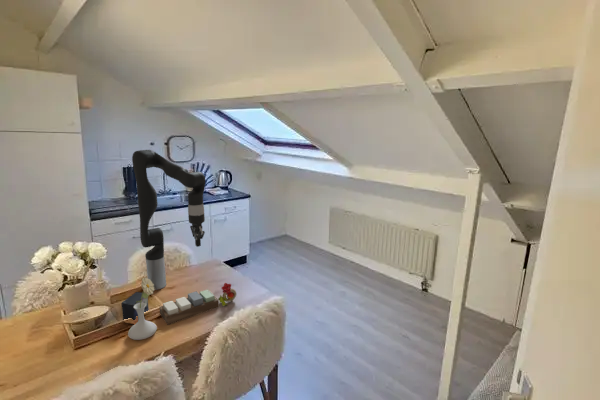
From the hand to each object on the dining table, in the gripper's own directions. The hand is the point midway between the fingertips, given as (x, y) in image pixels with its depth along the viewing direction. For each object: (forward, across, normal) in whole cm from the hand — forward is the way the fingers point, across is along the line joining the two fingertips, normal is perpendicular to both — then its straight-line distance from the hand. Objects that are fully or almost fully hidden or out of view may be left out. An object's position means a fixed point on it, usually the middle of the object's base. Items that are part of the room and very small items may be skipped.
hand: (198, 246), depth 168 cm
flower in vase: (+29, +13, -31) cm, 45 cm away
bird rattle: (+29, +12, +9) cm, 33 cm away
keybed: (+29, +8, -9) cm, 31 cm away
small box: (+29, -1, -31) cm, 43 cm away
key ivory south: (+27, +8, -18) cm, 34 cm away
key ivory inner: (+27, +8, -12) cm, 31 cm away
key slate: (+27, +8, -6) cm, 28 cm away
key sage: (+27, +8, 0) cm, 29 cm away
